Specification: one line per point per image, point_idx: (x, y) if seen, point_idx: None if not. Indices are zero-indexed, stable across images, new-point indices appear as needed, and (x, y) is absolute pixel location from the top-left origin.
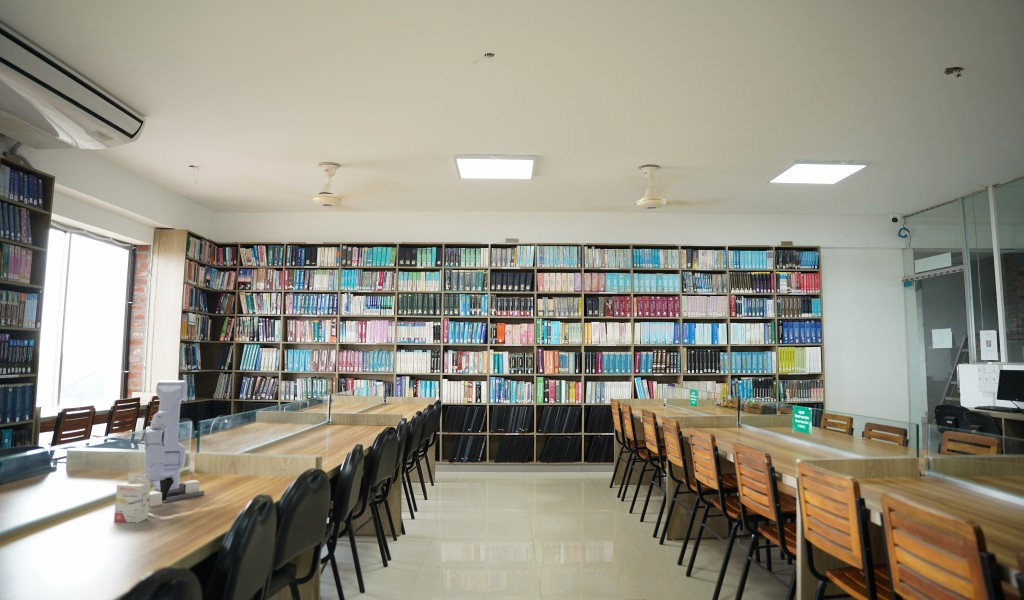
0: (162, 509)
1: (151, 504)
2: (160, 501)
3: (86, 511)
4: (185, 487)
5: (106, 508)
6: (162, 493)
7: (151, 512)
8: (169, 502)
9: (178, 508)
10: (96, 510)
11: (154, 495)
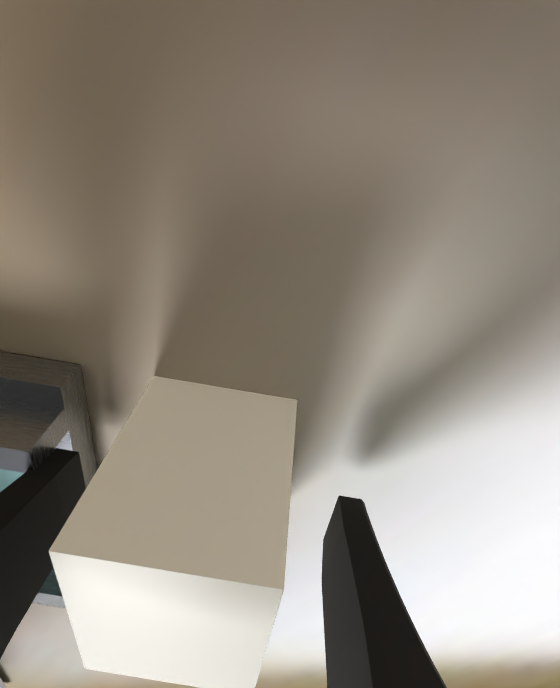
0: (210, 262)
1: (268, 439)
2: (138, 431)
3: (517, 681)
4: None
5: None
6: (22, 566)
7: (397, 259)
8: (29, 381)
9: (15, 63)
10: (477, 661)
11: (206, 551)
